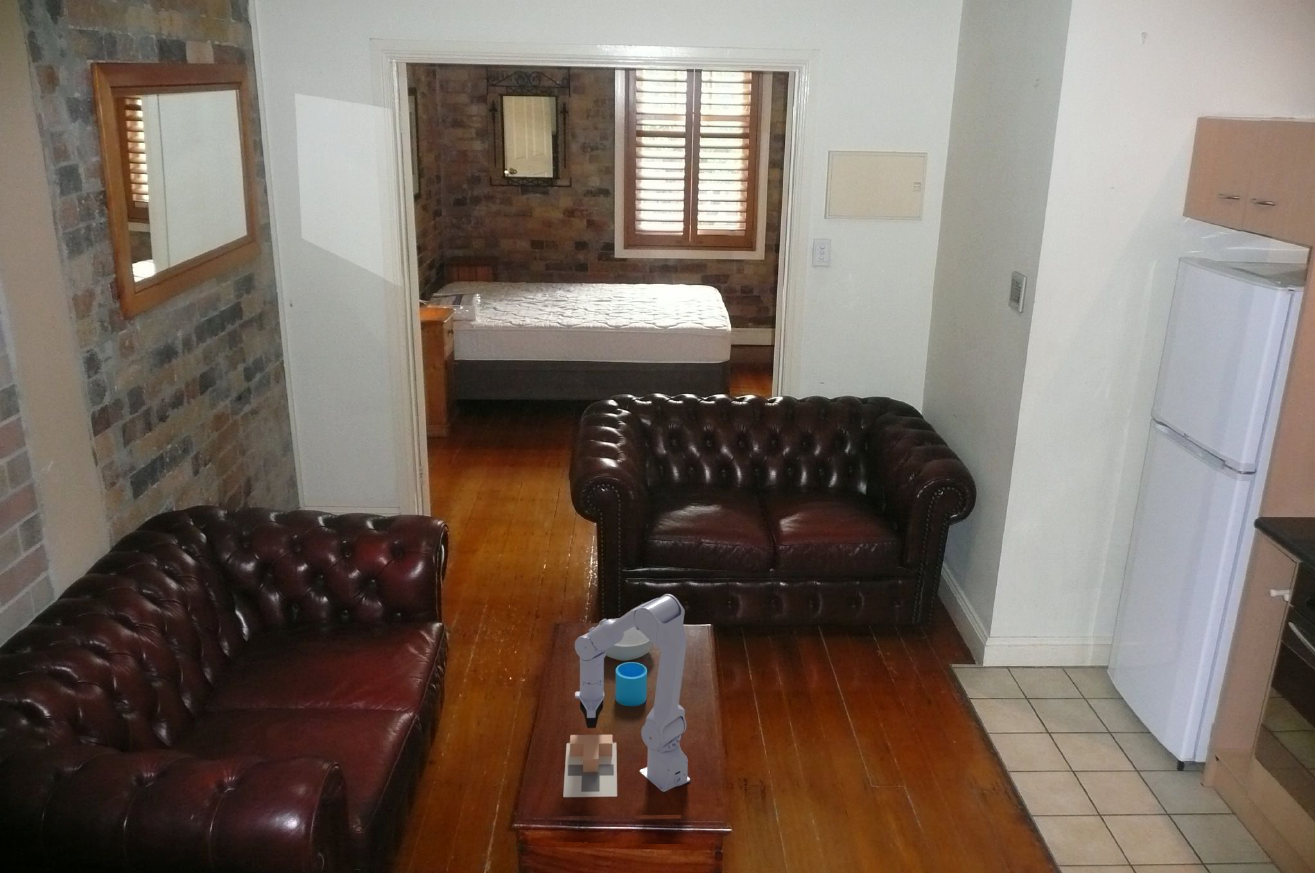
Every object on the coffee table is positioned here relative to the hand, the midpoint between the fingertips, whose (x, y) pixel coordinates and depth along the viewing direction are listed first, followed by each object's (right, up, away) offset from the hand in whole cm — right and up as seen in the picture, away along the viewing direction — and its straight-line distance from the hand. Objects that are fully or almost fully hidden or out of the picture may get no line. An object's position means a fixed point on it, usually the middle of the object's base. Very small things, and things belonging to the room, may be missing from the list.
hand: (591, 726), depth 250 cm
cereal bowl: (+7, +9, +39) cm, 41 cm away
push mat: (+1, -7, -12) cm, 14 cm away
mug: (+9, +3, +20) cm, 22 cm away
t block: (0, -5, -9) cm, 10 cm away
